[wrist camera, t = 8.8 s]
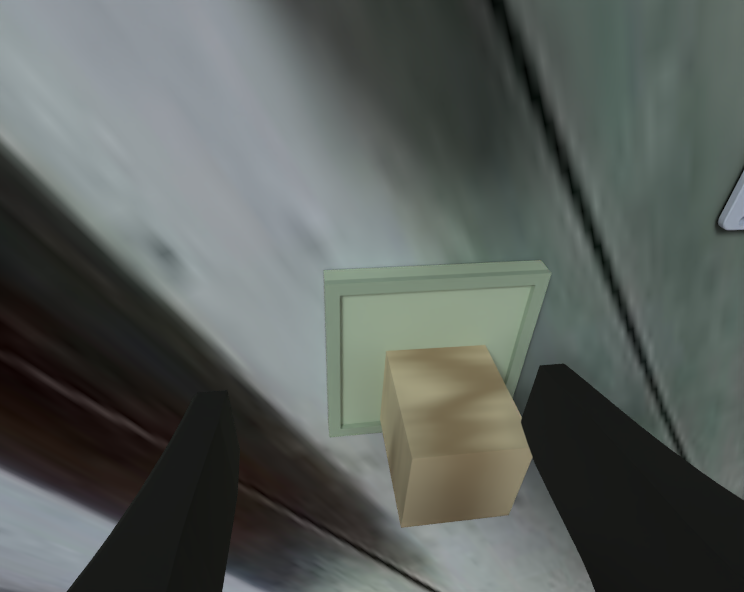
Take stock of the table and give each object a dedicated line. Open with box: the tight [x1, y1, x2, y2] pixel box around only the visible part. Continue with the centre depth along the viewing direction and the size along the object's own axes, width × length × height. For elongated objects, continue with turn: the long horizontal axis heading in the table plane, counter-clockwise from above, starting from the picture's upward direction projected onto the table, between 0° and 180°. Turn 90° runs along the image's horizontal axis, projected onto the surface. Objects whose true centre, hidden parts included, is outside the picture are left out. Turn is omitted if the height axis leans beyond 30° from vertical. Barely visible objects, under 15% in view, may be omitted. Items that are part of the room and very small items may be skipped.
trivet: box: [324, 260, 551, 437], centre depth 23 cm, size 10×10×1 cm
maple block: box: [380, 345, 532, 528], centre depth 22 cm, size 5×5×6 cm
